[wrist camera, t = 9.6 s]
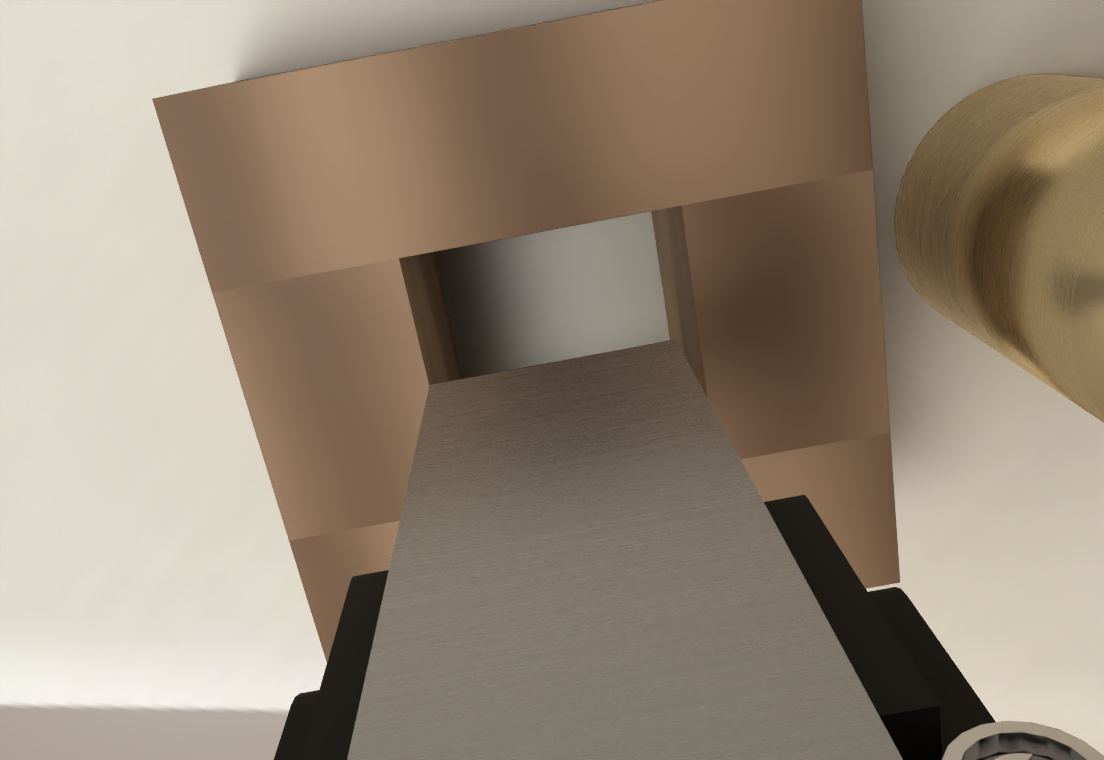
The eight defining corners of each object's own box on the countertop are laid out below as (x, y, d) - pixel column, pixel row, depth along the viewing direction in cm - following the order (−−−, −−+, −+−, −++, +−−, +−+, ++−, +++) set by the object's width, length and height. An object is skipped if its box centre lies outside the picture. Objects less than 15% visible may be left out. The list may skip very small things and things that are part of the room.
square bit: (676, 339, 16) (1111, 1147, 4) (706, 556, 17) (1101, 1603, 6) (429, 385, 16) (228, 1293, 4) (479, 596, 17) (424, 1708, 6)
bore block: (779, -23, 25) (859, -37, 19) (825, 475, 29) (900, 582, 24) (233, 82, 25) (152, 98, 19) (367, 557, 30) (333, 682, 24)
